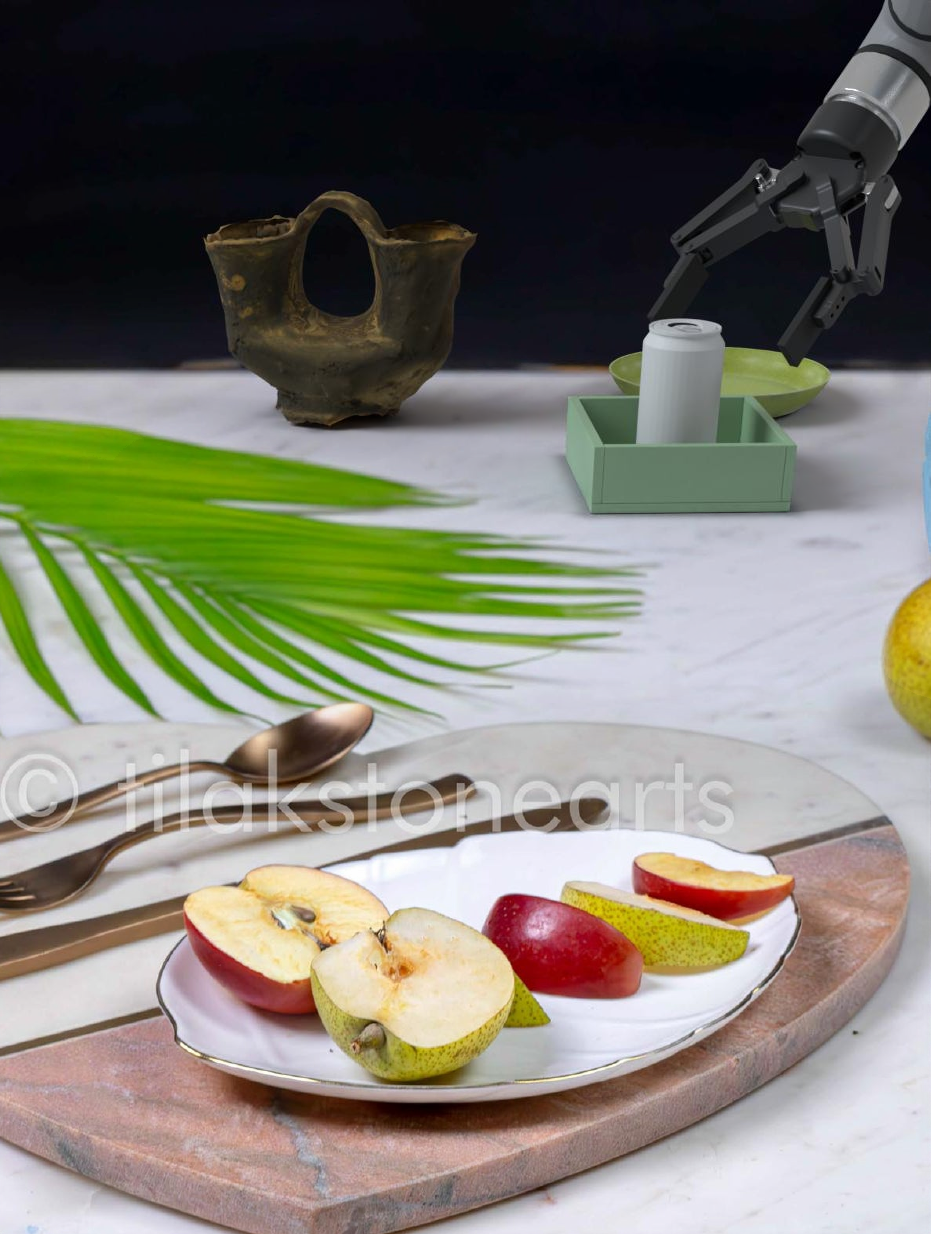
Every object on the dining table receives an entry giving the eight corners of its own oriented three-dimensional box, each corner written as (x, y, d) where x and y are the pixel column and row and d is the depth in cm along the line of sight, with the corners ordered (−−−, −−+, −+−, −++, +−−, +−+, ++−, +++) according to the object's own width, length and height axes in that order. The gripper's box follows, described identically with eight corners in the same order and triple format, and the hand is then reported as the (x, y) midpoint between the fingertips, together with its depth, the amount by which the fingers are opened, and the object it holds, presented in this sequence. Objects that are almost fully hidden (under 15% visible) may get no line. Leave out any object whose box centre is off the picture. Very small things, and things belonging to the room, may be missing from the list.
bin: (745, 455, 146) (751, 394, 144) (789, 511, 132) (797, 445, 130) (565, 457, 146) (568, 396, 144) (590, 513, 132) (594, 447, 130)
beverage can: (698, 460, 142) (711, 314, 137) (723, 483, 136) (738, 331, 131) (624, 464, 141) (634, 317, 136) (647, 486, 136) (658, 334, 130)
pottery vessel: (483, 409, 160) (489, 188, 151) (460, 440, 151) (466, 206, 142) (230, 394, 166) (222, 179, 157) (194, 422, 156) (182, 196, 147)
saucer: (861, 396, 164) (865, 362, 163) (769, 443, 150) (773, 407, 148) (669, 366, 175) (672, 335, 174) (566, 408, 161) (568, 374, 159)
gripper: (1009, 176, 132) (864, 399, 131) (757, 147, 149) (627, 343, 148) (980, 107, 127) (829, 338, 125) (723, 85, 144) (587, 288, 143)
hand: (719, 341), depth 137 cm, fingers open, 13 cm apart
